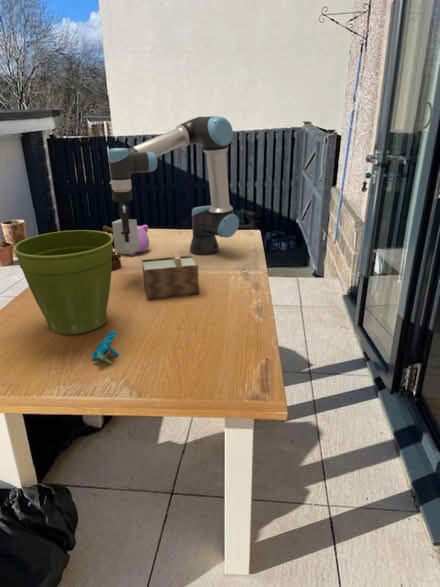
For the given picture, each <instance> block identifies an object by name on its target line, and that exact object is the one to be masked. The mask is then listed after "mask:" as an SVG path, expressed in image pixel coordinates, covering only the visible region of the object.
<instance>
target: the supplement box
mask: <svg viewBox="0 0 440 587" xmlns="http://www.w3.org/2000/svg"><path fill="white" fill-rule="evenodd" d="M128 220H129V230H130V240H131V250H124V241H123V234H121V232H123V227H122V219H121V218H120V219H117V220H115V221H111V224H112V227H111V228H113V237H114V244H115V249H114V251H115V254H117V253H119V254H121V253H124V254H127V255H130V254H132V253H134V252H135V253H137V252H136V251H137V250H139V241H138V230H137V226H138V223H137V222H138V220H137V219H132V218H128Z"/></svg>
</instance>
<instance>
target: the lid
mask: <svg viewBox="0 0 440 587" xmlns="http://www.w3.org/2000/svg"><path fill="white" fill-rule="evenodd" d="M172 257H173V259H172V260H161V261H150V262H142V263H143V265H142V268H143V267H144V271H145V270H147V269H158V268H169V267H180V266H191V265H197V263H196V262H195V260H194V258H193V257H192V258H184V259H181V258H180V257H181V256H180V254H179V253H178V252H173V253H172Z"/></svg>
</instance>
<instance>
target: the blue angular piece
mask: <svg viewBox="0 0 440 587" xmlns="http://www.w3.org/2000/svg"><path fill="white" fill-rule="evenodd" d="M116 334H117V331H115V330H111V331H110V332H109V333H107V334H106V335H105V338H102V340H101V341H100V343H99V345H97V346H96V348H95V350H96V351H95V350H94V351H93V353H92V356H91V359H92V360H93V361H94V360H95V361H97V360H98V359H99V360H100V361H102V362H104V361H105V362H106V363H108V364H109V365H112V364H113V361H111V360H110V359H109V358H107V357H108V354H109V352H110V353H111V354H113V355H114V356H115V357H118V356H119V352H117V351H116V350H115V349H113V348H112V346H111V345H112V344H113V342H114V341H113V340H114V339H115V338H116V336H117V335H116Z"/></svg>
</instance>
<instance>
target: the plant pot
mask: <svg viewBox="0 0 440 587" xmlns="http://www.w3.org/2000/svg"><path fill="white" fill-rule="evenodd" d="M113 237H114V235H113V236H112V234H109V233H107V232H106V231H105V232H104V231H102V230H101V231H100V230H92V229H91V230H90V229H89V230H88V229H83V230H81V229H77V230H76V229H75V230H74V229H73V230H61V231H60V230H59V231H54V232H48V233H42V234H39V235H38V234H37V235H35V236H31V237H27V238H25V239H23V240H21V241H18V242H17V243H15V244H14V246H13V247H12V249H13V250H12V251H13V252H14V254H15V255H16V257H17V260H18V264H19V267H20V269H21V270H22V272H23V275H24V277H25V280H26V282H27V285H28V287H29V289H30V291H31V293H32V294H31V295H32V296H33V298H34V300H35V302H36V304H37V306H38V308H39V310H40V311H41V314H42V315H43V316H44V318H45V320H46V323H47V326H48V327H47V328H48V329H49V330H50V331H51V332H52V333H54V334H58V335H65V336H67V335H69V336H70V335H71V336H73V335H81V334H84V333H89V332H92V331H94V330H96V329H98V328H100V327H101V326H103V325H104V324H105V322H106V321H107V319H108V312H107V311H108V310H107V309H108V305H109V297H110V291H111V283H112V282H111V279H112V271H111V267H112V248H113V247H112V242H113Z"/></svg>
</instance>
